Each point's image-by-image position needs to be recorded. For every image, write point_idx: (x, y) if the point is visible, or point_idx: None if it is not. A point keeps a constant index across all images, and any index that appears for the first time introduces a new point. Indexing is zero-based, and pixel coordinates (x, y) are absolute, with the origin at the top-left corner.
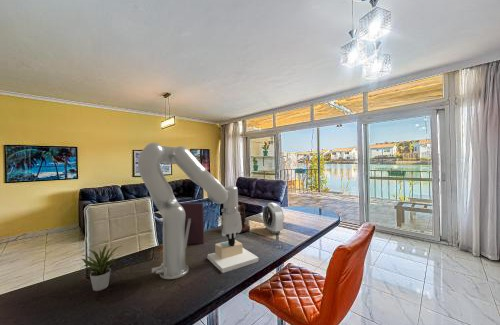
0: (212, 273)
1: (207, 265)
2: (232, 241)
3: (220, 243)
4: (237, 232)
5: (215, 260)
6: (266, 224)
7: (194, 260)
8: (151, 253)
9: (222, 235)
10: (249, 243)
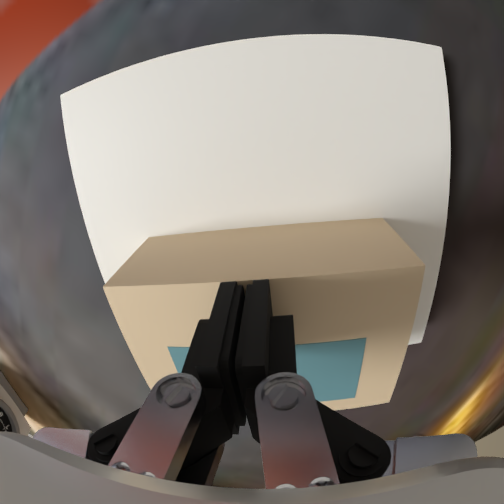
0: (478, 99)
1: (462, 229)
2: (247, 326)
3: (342, 399)
4: (89, 448)
5: (436, 221)
6: (13, 421)
7: (470, 327)
8: (499, 416)
9: (470, 443)
10: (85, 370)
